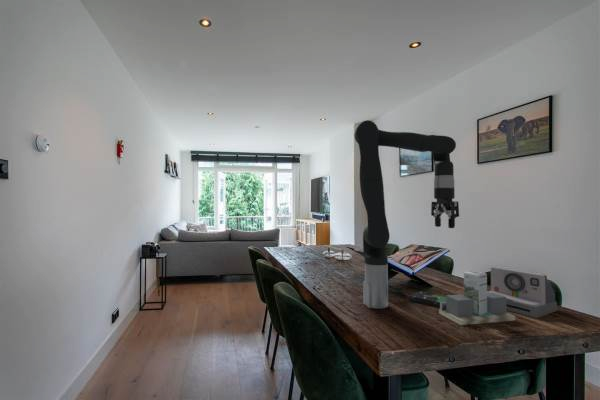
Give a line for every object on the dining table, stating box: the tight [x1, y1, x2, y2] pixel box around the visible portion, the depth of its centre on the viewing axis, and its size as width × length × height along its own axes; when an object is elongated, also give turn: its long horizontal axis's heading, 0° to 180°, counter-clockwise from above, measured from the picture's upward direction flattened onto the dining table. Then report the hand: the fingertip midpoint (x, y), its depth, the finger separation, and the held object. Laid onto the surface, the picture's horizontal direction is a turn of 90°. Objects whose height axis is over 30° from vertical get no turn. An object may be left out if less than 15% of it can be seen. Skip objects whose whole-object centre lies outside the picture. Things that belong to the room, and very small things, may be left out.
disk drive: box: [408, 291, 446, 309], centre depth 136 cm, size 10×3×15 cm
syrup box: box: [463, 270, 488, 315], centre depth 117 cm, size 6×6×14 cm
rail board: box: [438, 292, 516, 326], centre depth 117 cm, size 22×12×8 cm, turn 101°
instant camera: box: [487, 266, 558, 319], centre depth 128 cm, size 21×21×15 cm
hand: (444, 227), depth 129 cm, fingers open, 8 cm apart
